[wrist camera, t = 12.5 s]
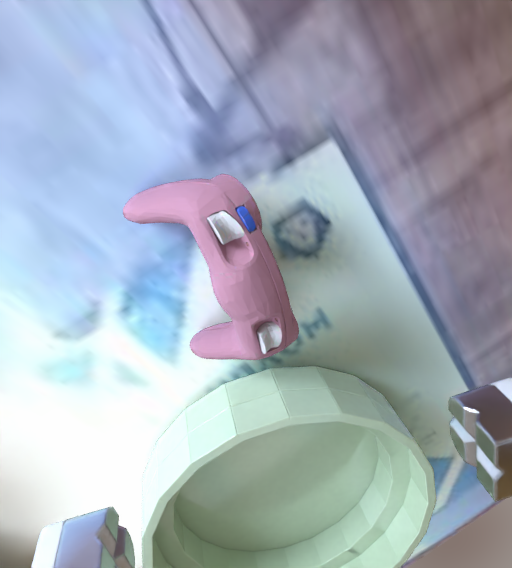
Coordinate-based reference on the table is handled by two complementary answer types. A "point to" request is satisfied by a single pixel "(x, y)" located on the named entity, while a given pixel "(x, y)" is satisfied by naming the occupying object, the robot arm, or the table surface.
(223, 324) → the video game controller
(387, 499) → the bowl
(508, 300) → the table surface
